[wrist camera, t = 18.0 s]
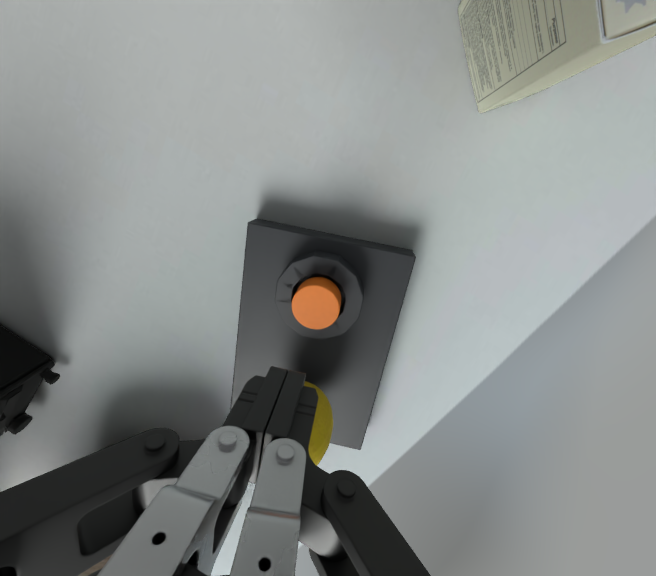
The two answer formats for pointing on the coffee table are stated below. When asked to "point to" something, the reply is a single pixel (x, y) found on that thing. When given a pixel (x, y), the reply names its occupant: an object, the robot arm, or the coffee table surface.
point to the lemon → (320, 426)
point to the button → (316, 303)
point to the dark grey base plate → (331, 342)
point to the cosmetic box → (544, 41)
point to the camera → (20, 379)
